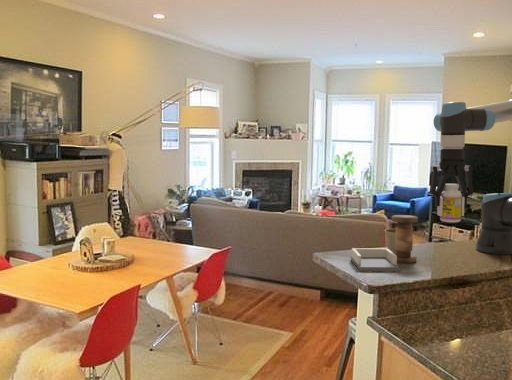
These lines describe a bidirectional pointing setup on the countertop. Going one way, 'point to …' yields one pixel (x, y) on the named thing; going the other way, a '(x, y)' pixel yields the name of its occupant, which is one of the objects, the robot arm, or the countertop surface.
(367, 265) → the grey shallow tray
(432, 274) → the countertop surface
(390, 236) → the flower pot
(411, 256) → the spool post
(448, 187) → the supplement bottle
